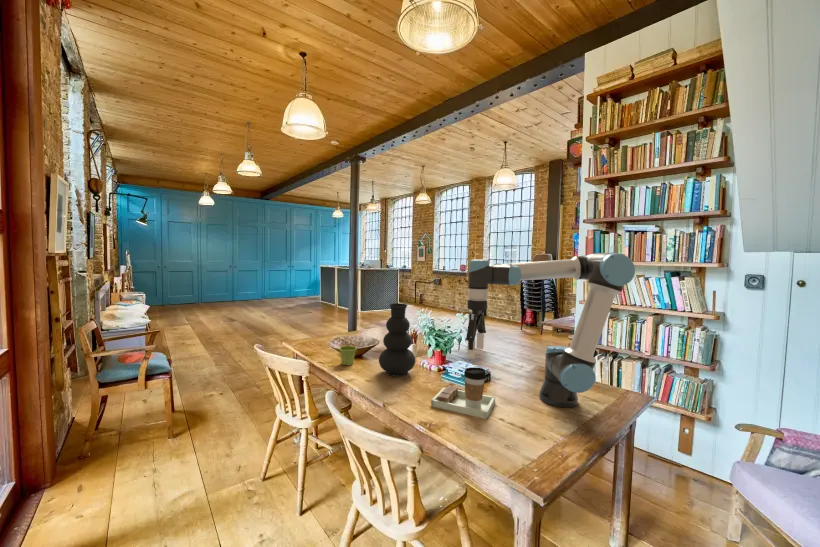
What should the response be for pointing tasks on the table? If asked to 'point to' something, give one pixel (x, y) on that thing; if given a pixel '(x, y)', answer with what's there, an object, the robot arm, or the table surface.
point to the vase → (397, 343)
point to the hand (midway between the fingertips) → (475, 353)
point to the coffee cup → (474, 386)
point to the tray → (460, 405)
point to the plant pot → (347, 354)
